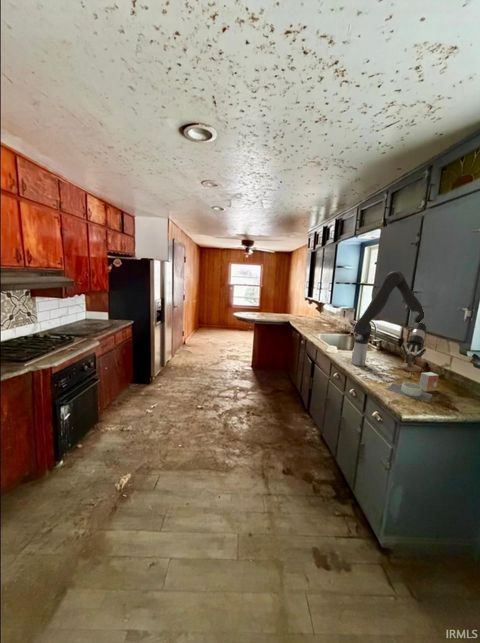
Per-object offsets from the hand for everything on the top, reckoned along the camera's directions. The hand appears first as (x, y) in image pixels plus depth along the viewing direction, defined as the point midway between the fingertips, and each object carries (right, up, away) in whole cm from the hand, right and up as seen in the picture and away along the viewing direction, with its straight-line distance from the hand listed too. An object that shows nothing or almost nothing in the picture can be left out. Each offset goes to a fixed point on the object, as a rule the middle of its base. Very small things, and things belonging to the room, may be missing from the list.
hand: (410, 361), depth 176 cm
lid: (+1, -5, +3) cm, 5 cm away
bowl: (-1, -19, -3) cm, 19 cm away
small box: (+13, -19, +5) cm, 23 cm away
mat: (-1, -19, -1) cm, 19 cm away
